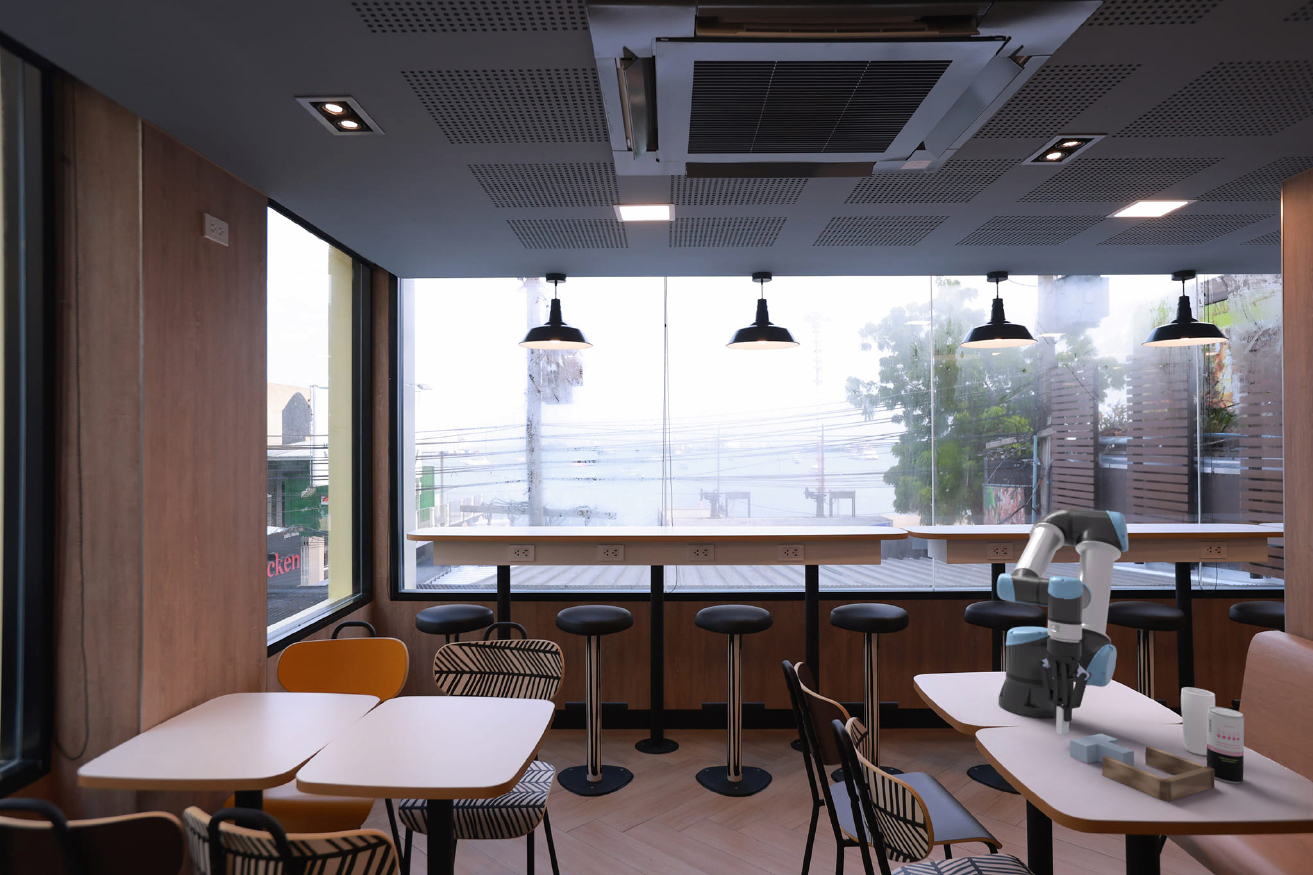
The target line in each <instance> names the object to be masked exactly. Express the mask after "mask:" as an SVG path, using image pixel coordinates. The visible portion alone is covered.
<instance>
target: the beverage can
mask: <svg viewBox="0 0 1313 875" xmlns="http://www.w3.org/2000/svg"><path fill="white" fill-rule="evenodd" d="M1244 741H1245V717H1244V714H1243V713H1242V712H1239V711H1238V710H1234V709H1231V708H1226V707H1221V706H1215V707H1209V708H1208V711H1207V755H1206V766H1207V767H1210V768H1212V769H1215V775H1214V780H1218V781H1221V782H1223V783H1224V782H1225V783H1228V784H1240V783H1242V782H1244V769H1245V768H1244V767H1245V766H1244V764H1245V763H1244V759H1245V758H1244V754H1245V753H1244V750H1245V746H1244V745H1245V744H1244Z"/></svg>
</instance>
